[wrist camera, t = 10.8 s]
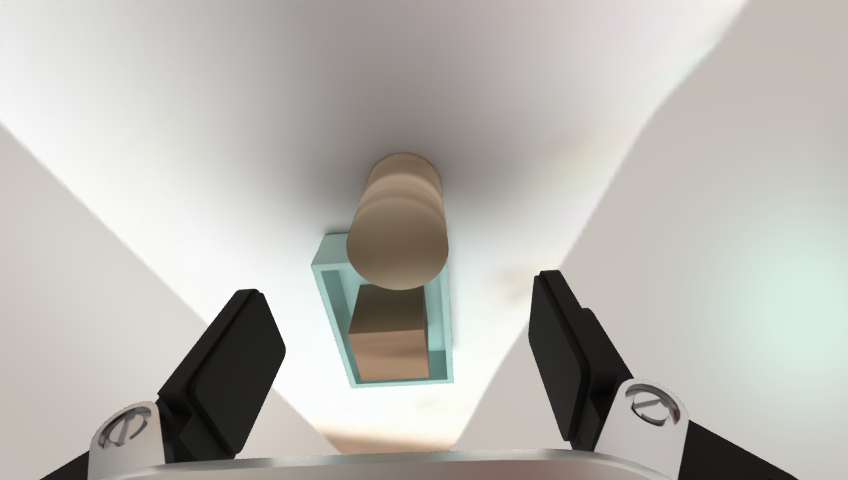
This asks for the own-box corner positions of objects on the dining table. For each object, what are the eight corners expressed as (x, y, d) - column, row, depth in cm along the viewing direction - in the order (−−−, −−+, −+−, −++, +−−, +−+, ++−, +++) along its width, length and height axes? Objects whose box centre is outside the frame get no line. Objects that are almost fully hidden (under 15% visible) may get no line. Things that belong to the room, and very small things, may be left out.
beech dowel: (361, 156, 17) (335, 209, 12) (439, 149, 17) (446, 201, 12) (374, 223, 19) (356, 292, 14) (443, 218, 19) (450, 286, 14)
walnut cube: (370, 329, 23) (360, 284, 21) (428, 325, 23) (423, 280, 21) (361, 380, 20) (347, 334, 18) (428, 377, 20) (423, 329, 17)
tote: (325, 234, 20) (310, 265, 17) (443, 226, 19) (446, 255, 17) (358, 352, 25) (351, 388, 23) (450, 347, 25) (453, 382, 22)
